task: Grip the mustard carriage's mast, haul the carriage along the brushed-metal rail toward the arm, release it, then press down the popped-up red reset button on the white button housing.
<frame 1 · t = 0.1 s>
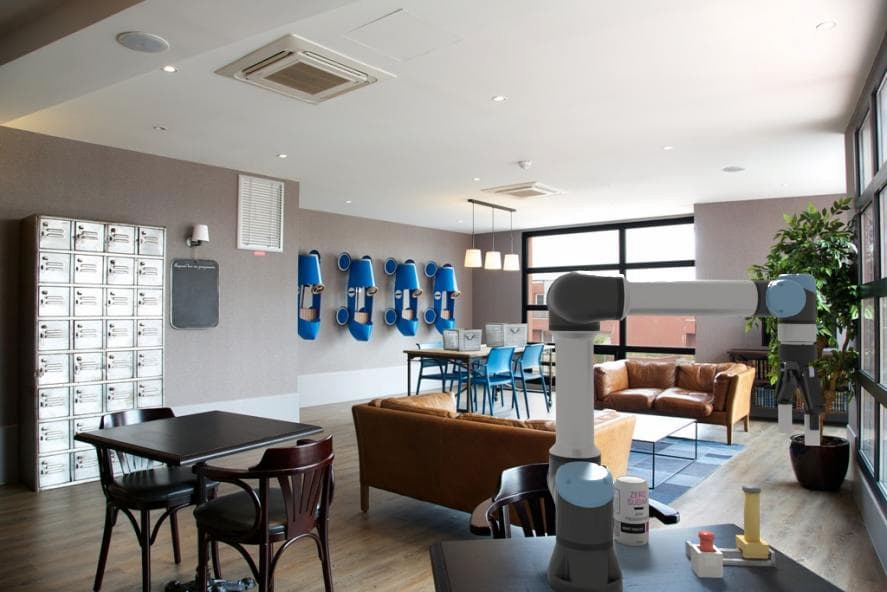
hand: (798, 438, 139), 28 cm above the table, fingers open, 13 cm apart
rail: (729, 559, 141), on the table
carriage: (751, 520, 141), point 9 cm above the table, slide at 5.0 cm
supplement can: (631, 541, 152), on the table
reset button: (706, 544, 134), point 6 cm above the table, slide at 0.0 cm
white button housing: (706, 572, 134), on the table
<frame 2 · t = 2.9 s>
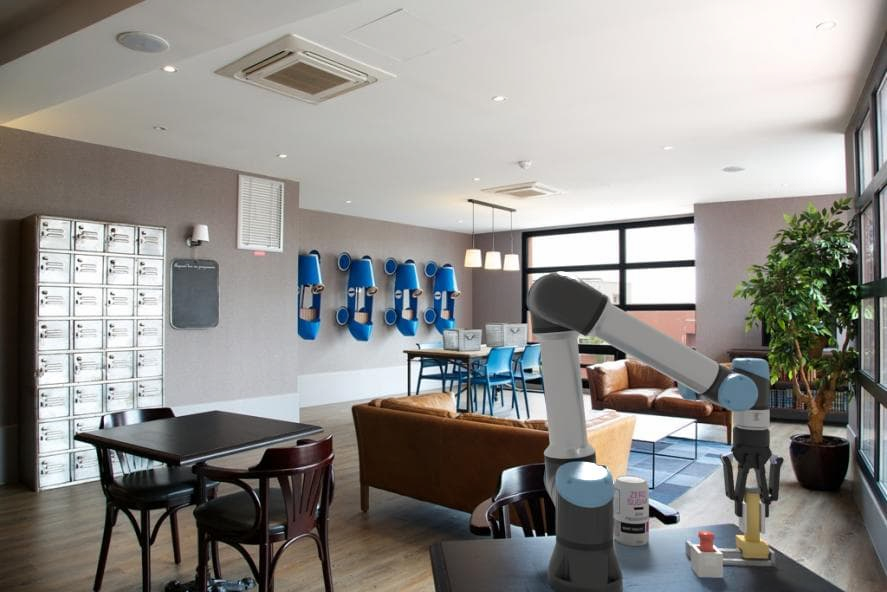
hand: (751, 531, 141), 7 cm above the table, fingers closed on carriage, 3 cm apart
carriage: (751, 520, 141), point 9 cm above the table, slide at 5.0 cm, touching gripper
everything else where it was.
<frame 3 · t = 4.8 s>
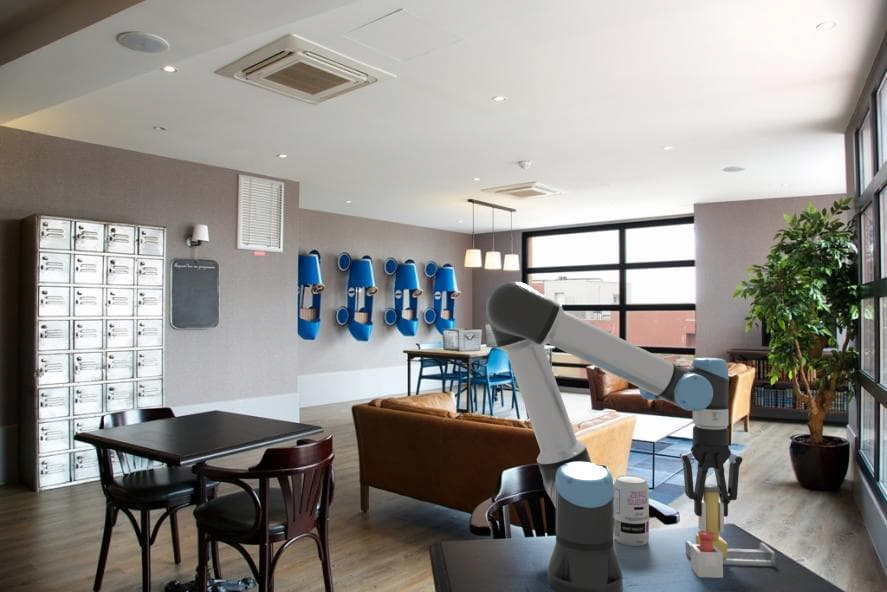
hand: (711, 530, 141), 7 cm above the table, fingers closed on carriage, 3 cm apart
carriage: (711, 519, 141), point 9 cm above the table, slide at -3.9 cm, touching gripper
everything else where it was.
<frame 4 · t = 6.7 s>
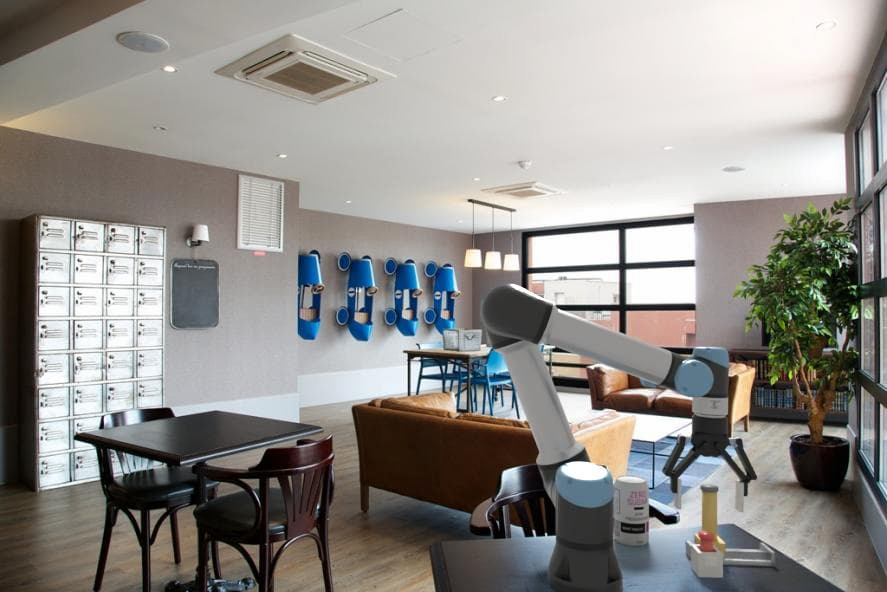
hand: (708, 509, 141), 11 cm above the table, fingers open, 13 cm apart
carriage: (709, 519, 141), point 9 cm above the table, slide at -4.3 cm
everything else where it was.
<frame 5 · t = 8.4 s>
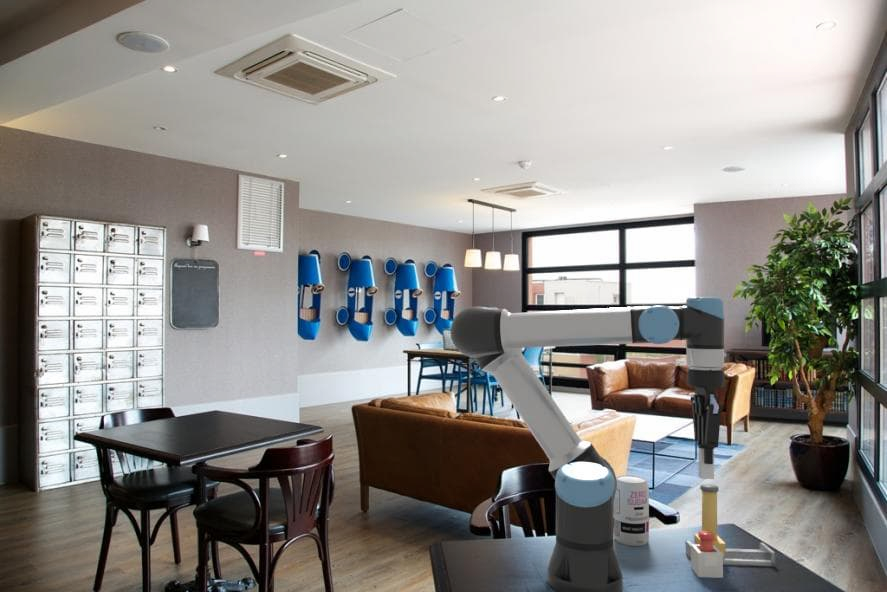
hand: (706, 477, 134), 20 cm above the table, fingers closed
nothing on the table moved.
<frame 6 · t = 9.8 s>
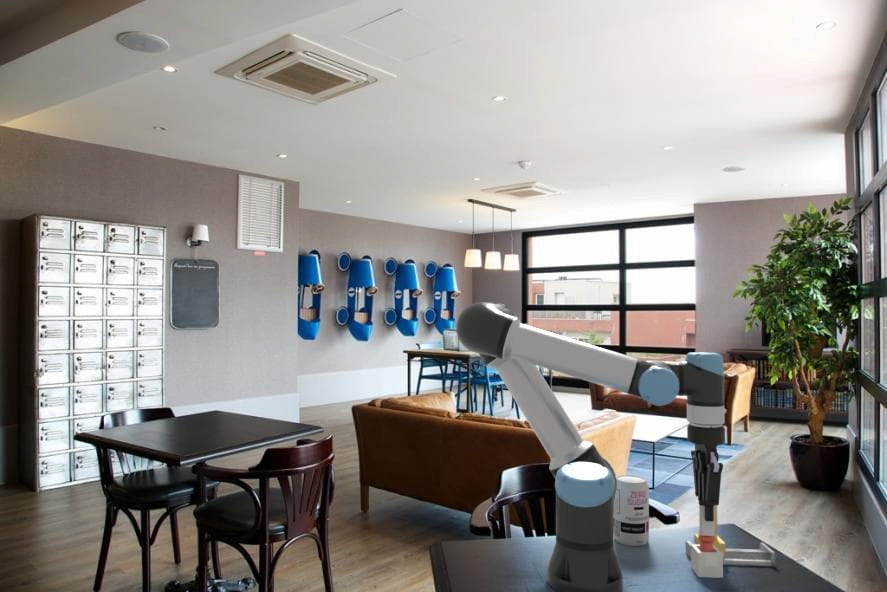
hand: (707, 534, 134), 8 cm above the table, fingers closed
reset button: (706, 546, 134), point 5 cm above the table, slide at -0.5 cm, touching gripper
everything else where it was.
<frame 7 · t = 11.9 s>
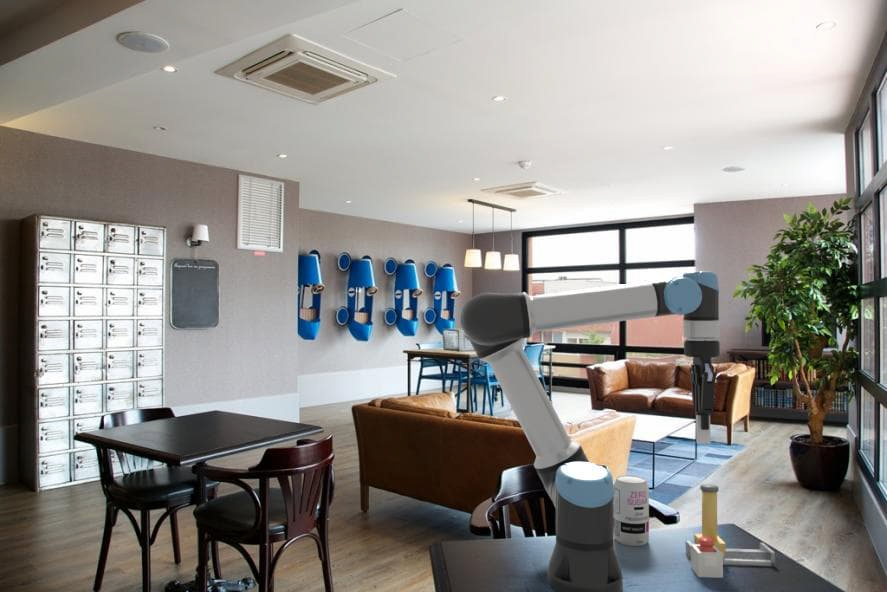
hand: (703, 443, 142), 26 cm above the table, fingers closed
reset button: (706, 550, 134), point 5 cm above the table, slide at -1.3 cm
everything else where it was.
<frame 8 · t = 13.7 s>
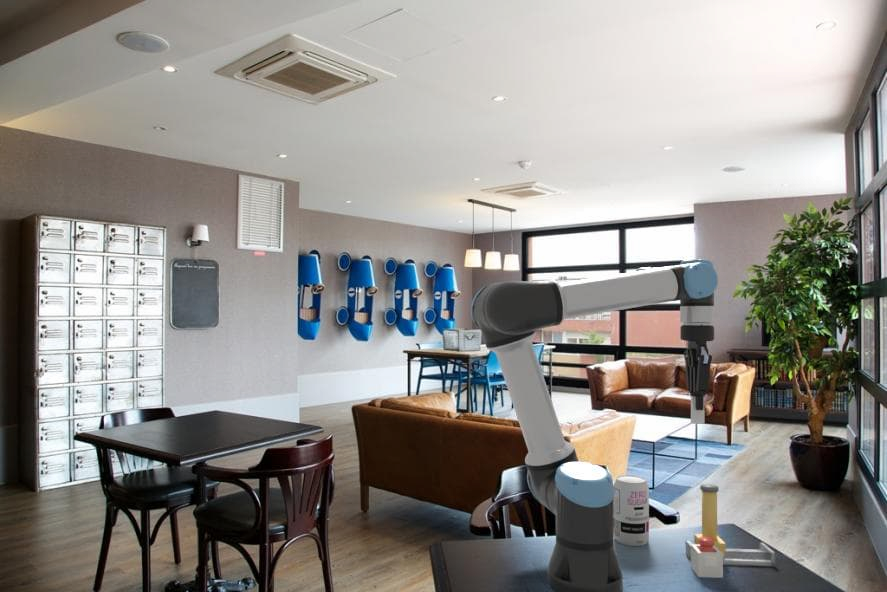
hand: (697, 423, 149), 29 cm above the table, fingers closed
nothing on the table moved.
at the end: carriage slide at -4.3 cm; reset button slide at -1.3 cm; the gripper is holding nothing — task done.
